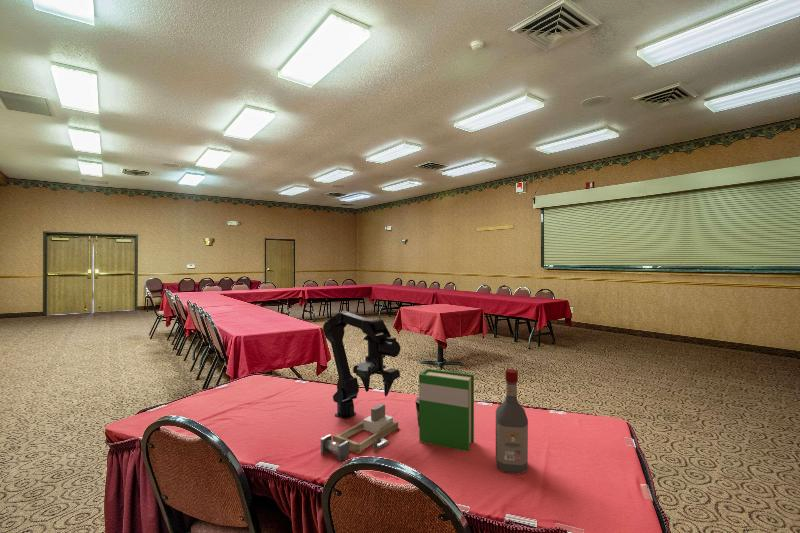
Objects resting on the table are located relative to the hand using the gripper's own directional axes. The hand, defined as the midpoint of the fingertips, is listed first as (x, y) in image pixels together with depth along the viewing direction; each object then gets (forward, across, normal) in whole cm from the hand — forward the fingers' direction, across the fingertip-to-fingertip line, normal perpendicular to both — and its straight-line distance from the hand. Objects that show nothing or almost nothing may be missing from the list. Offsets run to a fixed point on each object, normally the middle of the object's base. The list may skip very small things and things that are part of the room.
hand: (376, 393), depth 148 cm
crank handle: (+14, +8, -10) cm, 19 cm away
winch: (+13, 0, -23) cm, 27 cm away
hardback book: (+14, +26, +6) cm, 31 cm away
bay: (+13, 0, -6) cm, 15 cm away
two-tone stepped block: (+13, 0, 0) cm, 13 cm away
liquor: (+14, +50, +4) cm, 53 cm away
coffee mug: (+14, +13, +14) cm, 24 cm away
